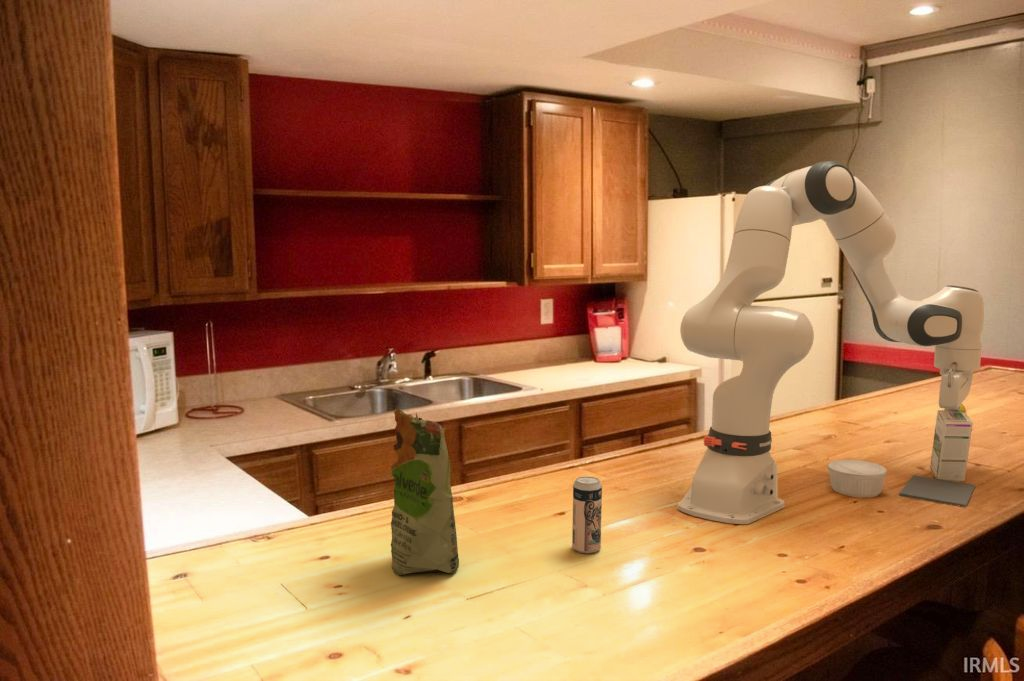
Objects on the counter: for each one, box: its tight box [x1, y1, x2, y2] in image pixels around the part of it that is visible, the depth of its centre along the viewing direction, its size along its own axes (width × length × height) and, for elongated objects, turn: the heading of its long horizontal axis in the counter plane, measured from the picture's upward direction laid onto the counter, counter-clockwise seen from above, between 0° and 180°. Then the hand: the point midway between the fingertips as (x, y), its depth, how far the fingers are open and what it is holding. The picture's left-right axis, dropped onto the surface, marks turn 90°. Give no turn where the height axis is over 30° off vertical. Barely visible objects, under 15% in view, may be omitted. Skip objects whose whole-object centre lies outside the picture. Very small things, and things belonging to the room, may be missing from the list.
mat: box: [898, 474, 976, 507], centre depth 167 cm, size 16×12×1 cm
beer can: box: [571, 475, 603, 555], centre depth 133 cm, size 5×5×12 cm
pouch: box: [390, 407, 460, 576], centre depth 124 cm, size 11×12×25 cm
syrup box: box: [929, 409, 974, 483], centre depth 174 cm, size 6×6×14 cm
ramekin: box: [827, 459, 888, 498], centre depth 166 cm, size 11×11×5 cm
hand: (952, 422), depth 176 cm, fingers closed
